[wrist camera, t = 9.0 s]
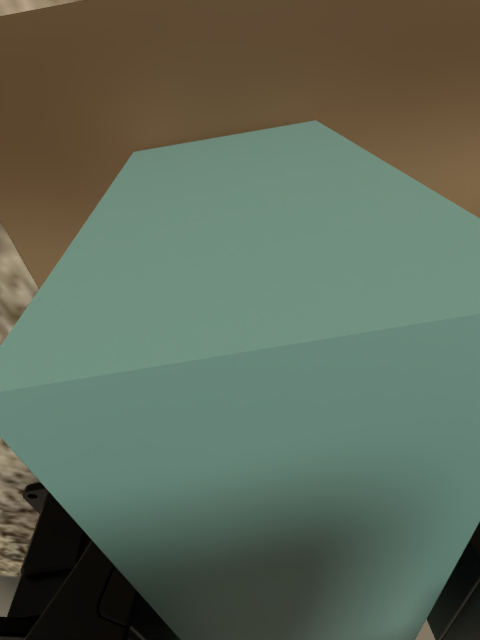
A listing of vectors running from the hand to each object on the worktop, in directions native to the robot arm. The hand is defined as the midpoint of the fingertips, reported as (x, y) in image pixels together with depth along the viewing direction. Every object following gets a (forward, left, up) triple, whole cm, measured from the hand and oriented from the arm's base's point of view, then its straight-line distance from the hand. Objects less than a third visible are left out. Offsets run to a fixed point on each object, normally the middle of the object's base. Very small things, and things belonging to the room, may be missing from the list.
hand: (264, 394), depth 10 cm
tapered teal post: (0, 0, -2) cm, 2 cm away
